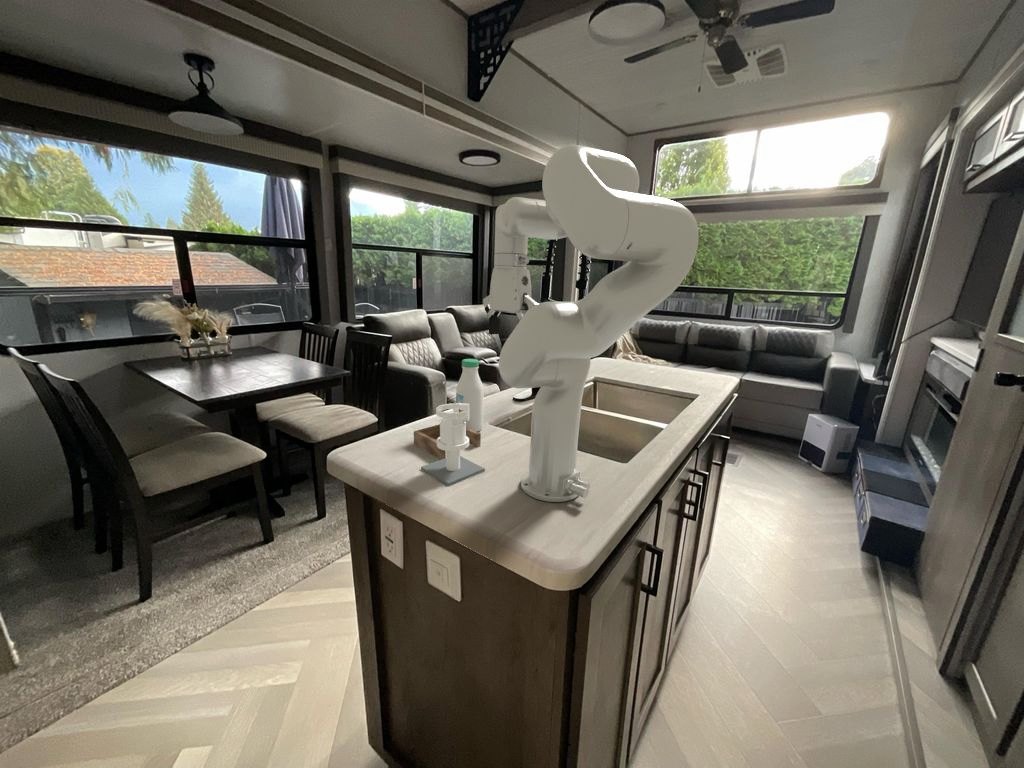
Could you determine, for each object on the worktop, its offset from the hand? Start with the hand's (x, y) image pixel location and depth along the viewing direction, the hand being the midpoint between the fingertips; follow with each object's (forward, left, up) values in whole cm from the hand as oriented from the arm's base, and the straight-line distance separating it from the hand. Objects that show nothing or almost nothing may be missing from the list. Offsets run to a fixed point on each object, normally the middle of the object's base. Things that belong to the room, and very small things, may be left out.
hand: (507, 336), depth 97 cm
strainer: (-3, +18, -28) cm, 34 cm away
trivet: (-2, +19, -28) cm, 34 cm away
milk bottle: (+15, -1, -28) cm, 32 cm away
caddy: (+10, +11, -28) cm, 32 cm away
